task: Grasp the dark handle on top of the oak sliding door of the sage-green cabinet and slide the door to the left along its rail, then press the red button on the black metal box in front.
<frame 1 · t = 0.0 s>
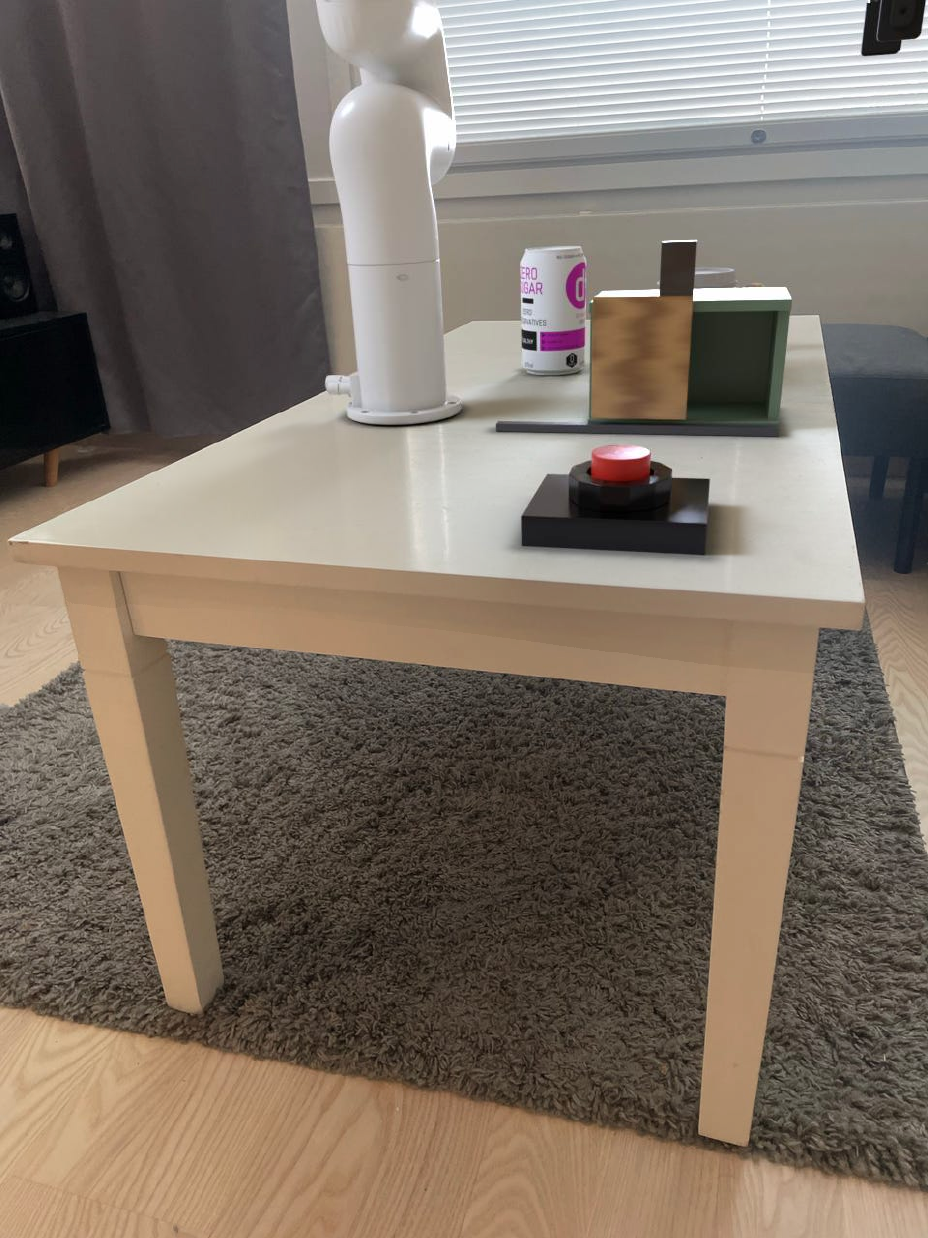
hand: (888, 47, 76), 31 cm above the table, tool pointing down, fingers open, 9 cm apart
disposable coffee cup: (691, 373, 115), on the table
sliding door: (641, 333, 84), point 9 cm above the table, slide at 0.0 cm
lion figurine: (724, 349, 131), on the table
cabinet: (682, 419, 92), on the table
button box: (618, 526, 64), on the table
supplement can: (553, 371, 120), on the table
button: (620, 464, 62), point 4 cm above the table, slide at 0.1 cm
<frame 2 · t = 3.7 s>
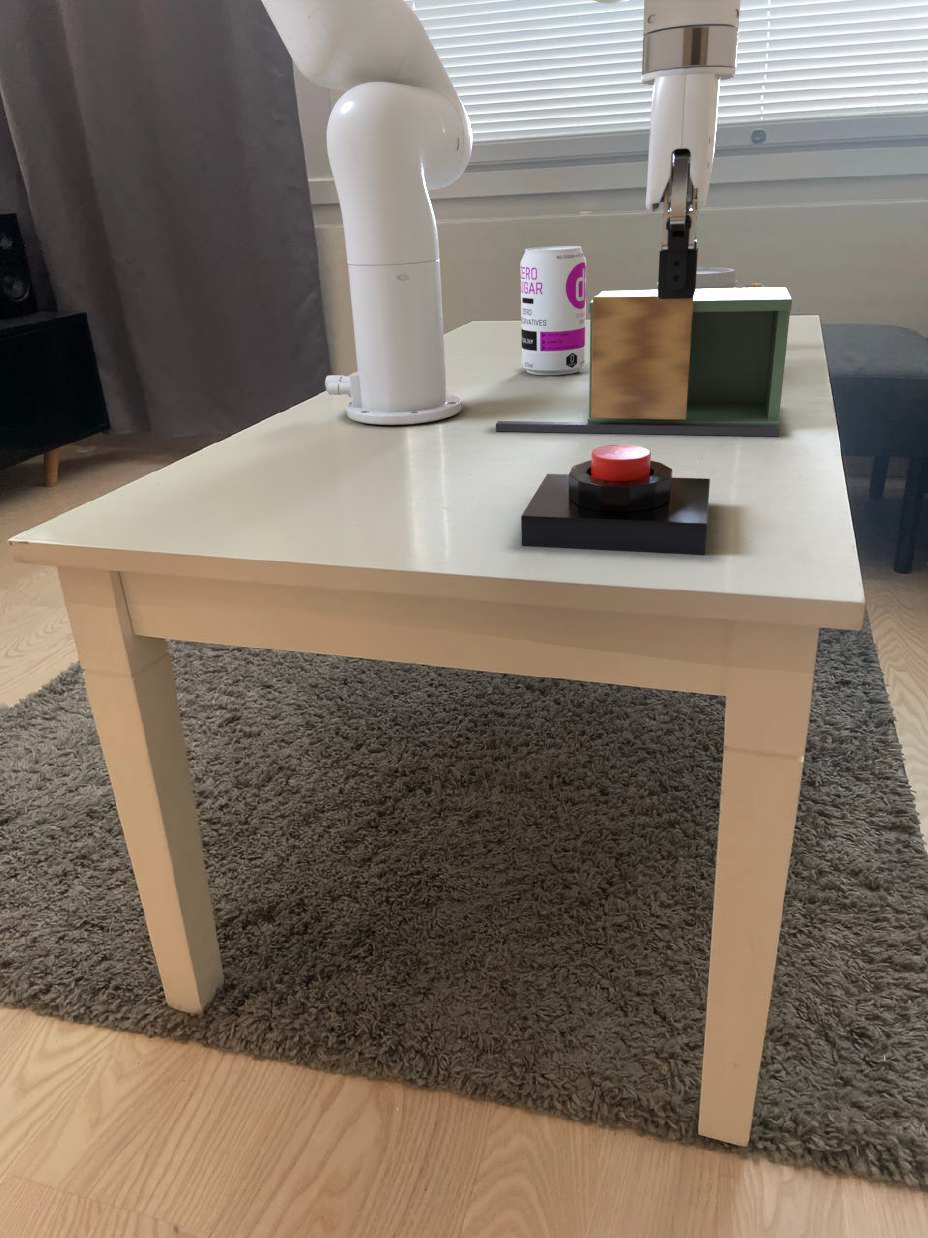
hand: (676, 295, 82), 13 cm above the table, tool pointing down, fingers closed
sliding door: (641, 333, 84), point 9 cm above the table, slide at 0.0 cm, touching gripper
everything else where it was.
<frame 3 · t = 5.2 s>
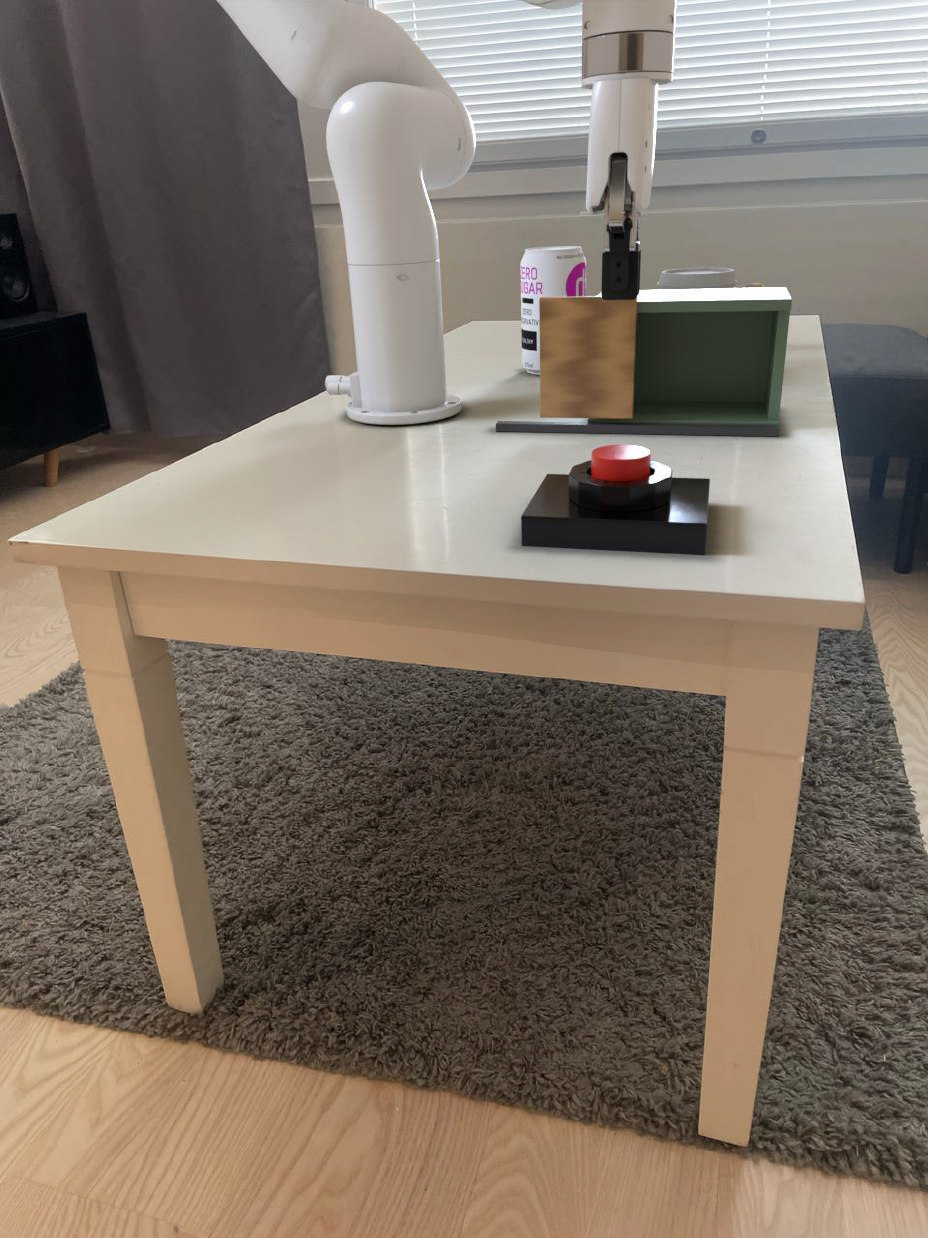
hand: (620, 296, 83), 13 cm above the table, tool pointing down, fingers closed
sliding door: (587, 333, 86), point 9 cm above the table, slide at 5.0 cm, touching gripper
everything else where it was.
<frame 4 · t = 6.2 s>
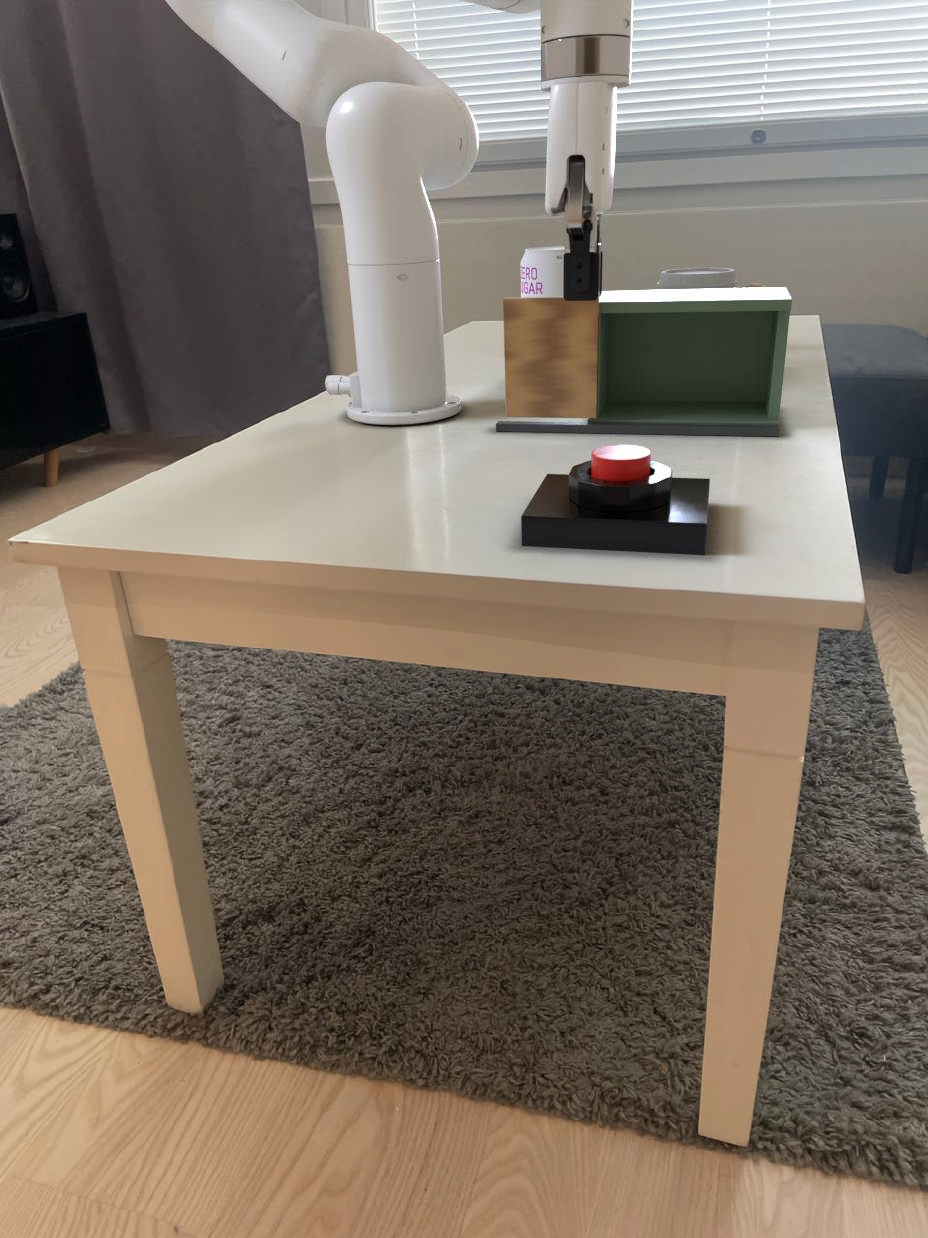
hand: (582, 297, 84), 13 cm above the table, tool pointing down, fingers closed
sliding door: (550, 334, 86), point 9 cm above the table, slide at 8.5 cm
everything else where it was.
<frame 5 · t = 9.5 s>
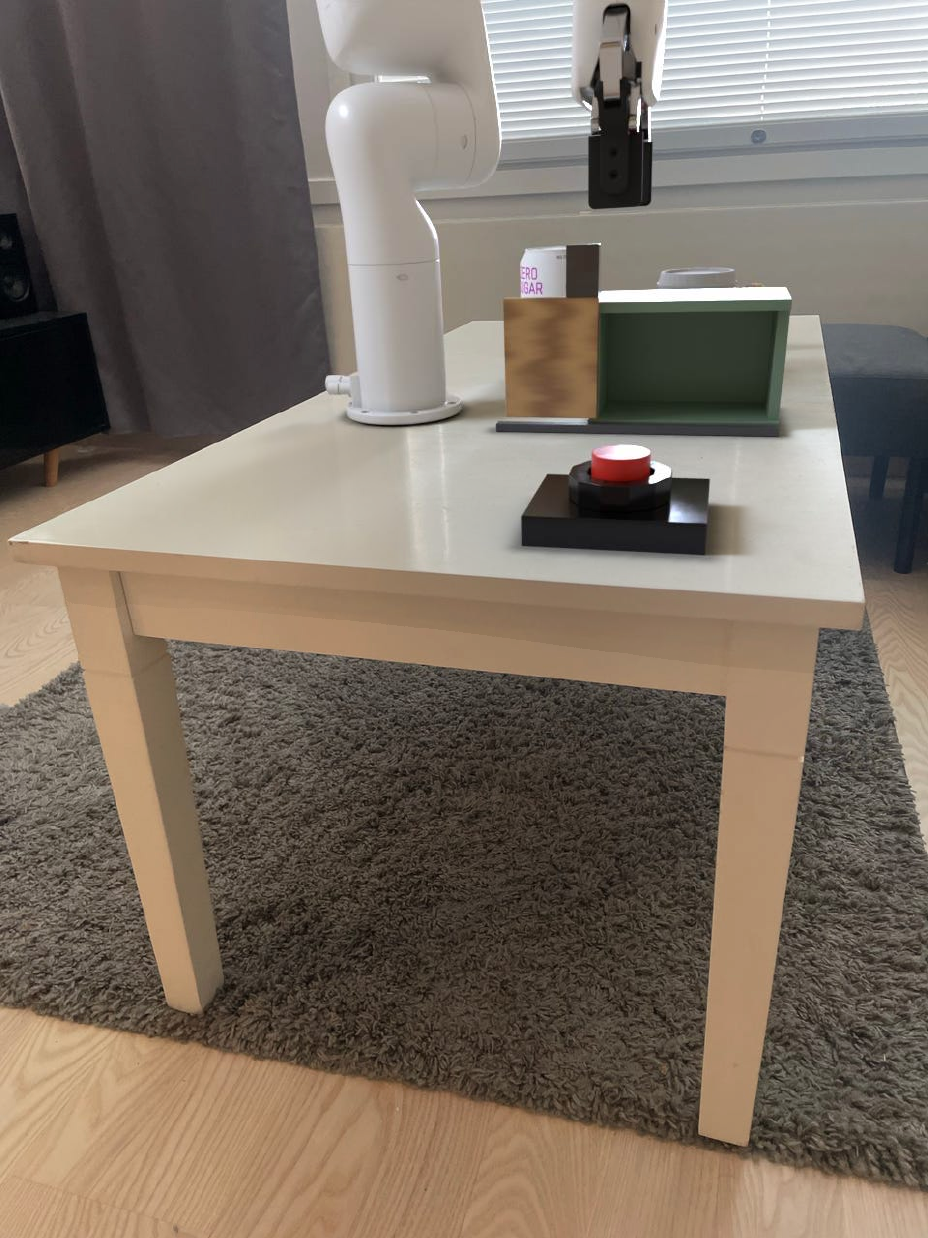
hand: (621, 207, 60), 20 cm above the table, tool pointing down, fingers open, 9 cm apart
nothing on the table moved.
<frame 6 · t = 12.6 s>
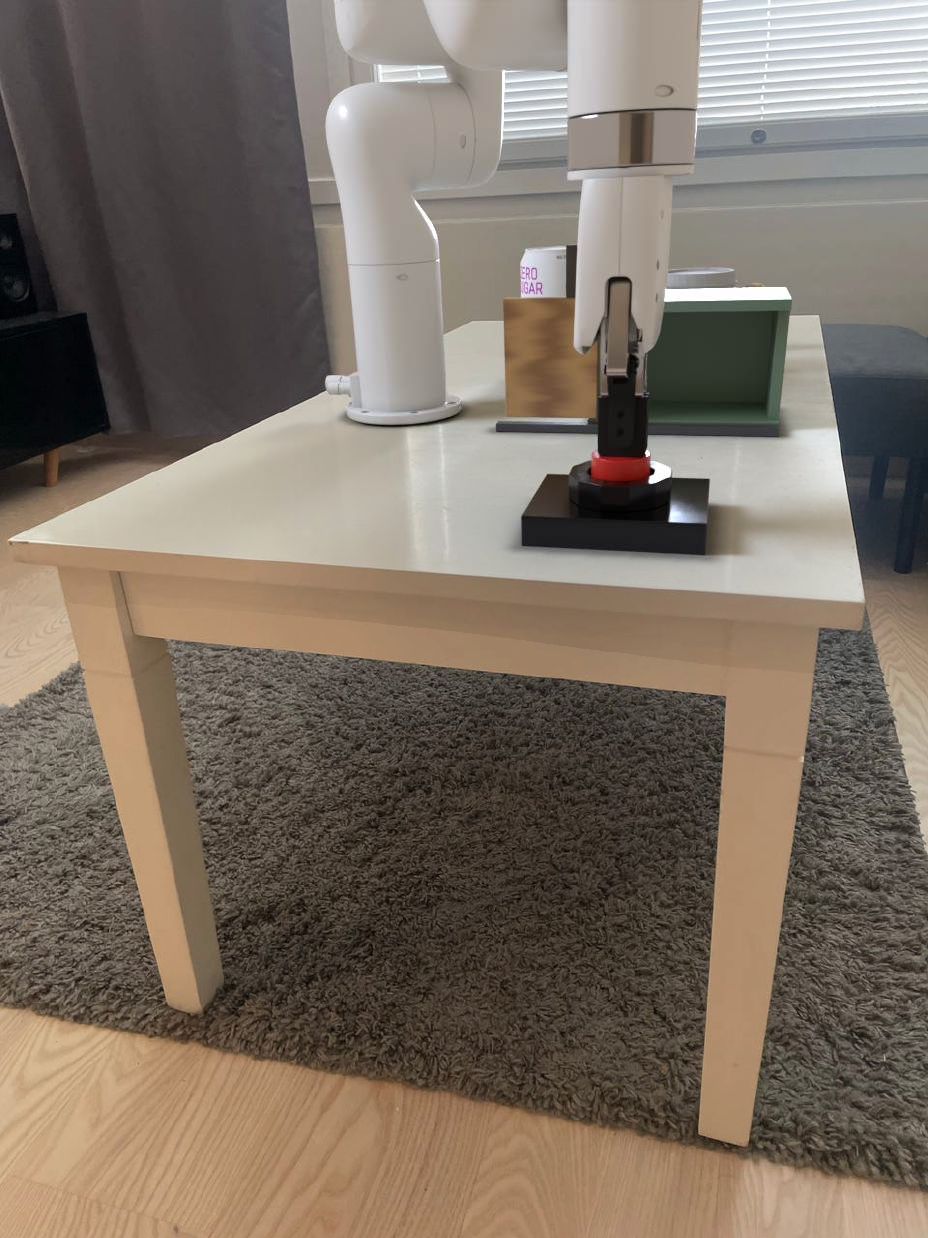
hand: (622, 453, 62), 5 cm above the table, tool pointing down, fingers closed
button: (620, 465, 62), point 4 cm above the table, slide at 0.0 cm, touching gripper
everything else where it was.
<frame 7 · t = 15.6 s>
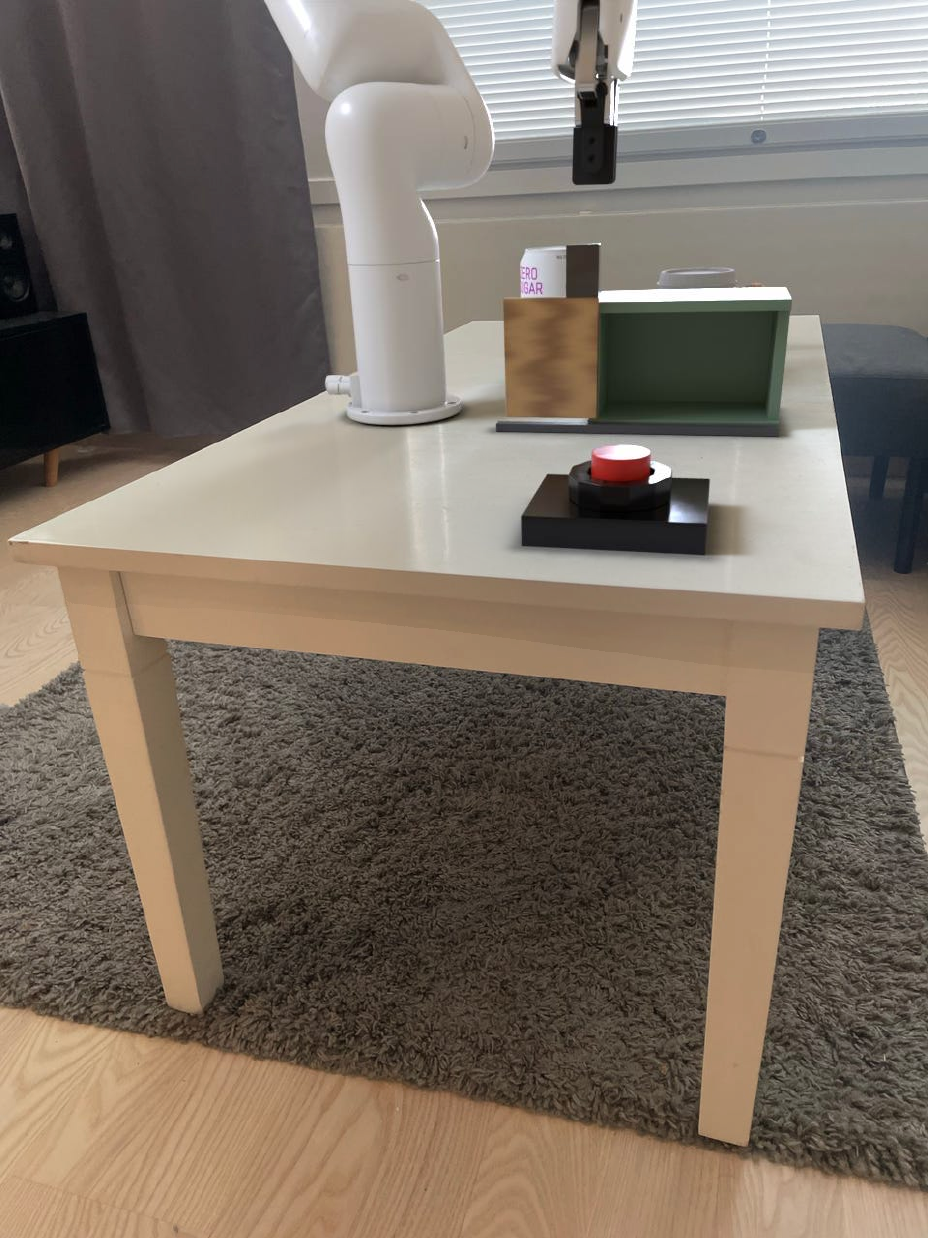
hand: (593, 183, 72), 22 cm above the table, tool pointing down, fingers closed
button: (620, 464, 62), point 4 cm above the table, slide at 0.1 cm
everything else where it was.
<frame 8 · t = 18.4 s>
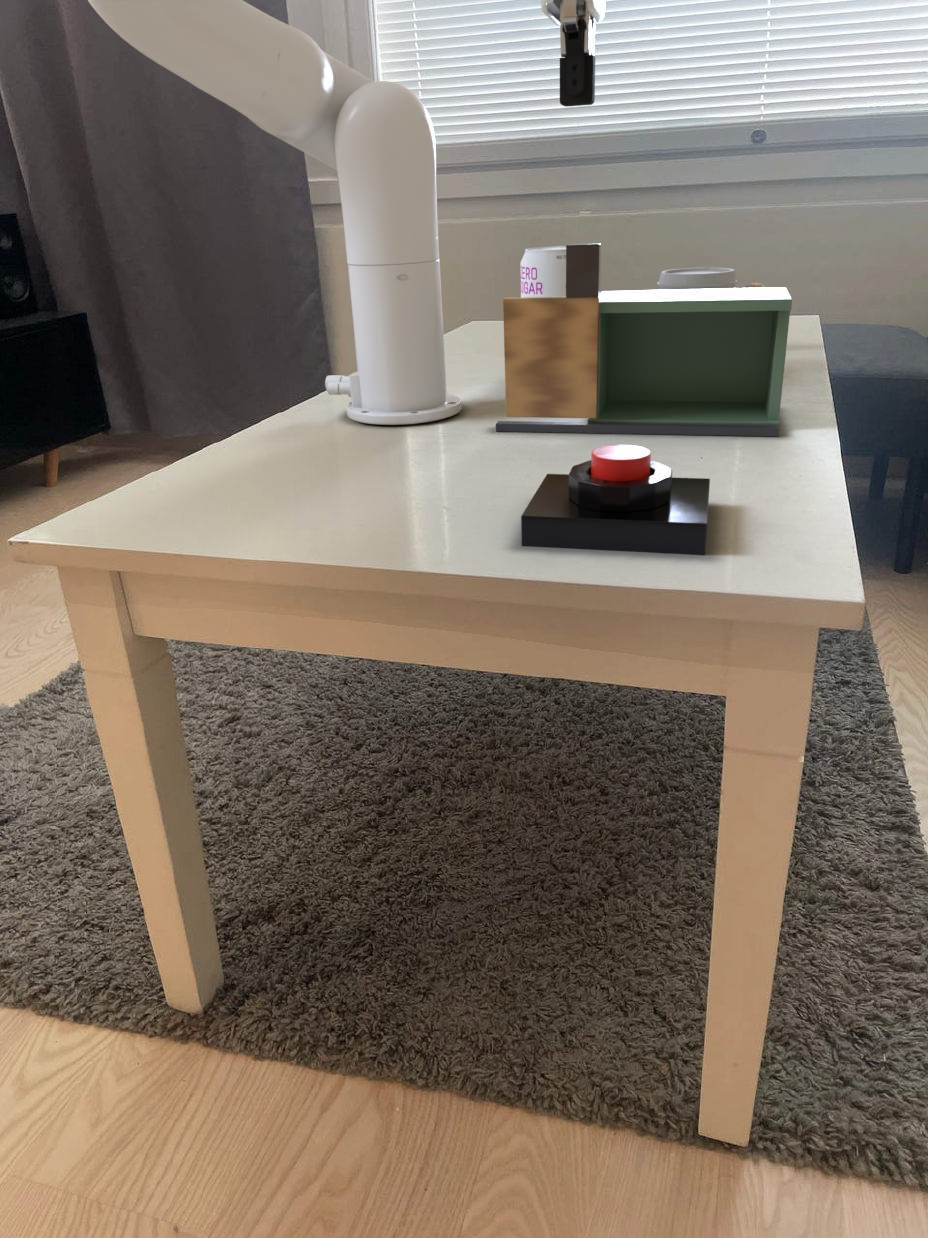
hand: (577, 104, 89), 29 cm above the table, tool pointing down, fingers closed
nothing on the table moved.
at the end: sliding door slide at 8.5 cm; button pushed in 1.1 cm at the most during the clip, back to where it started at the end; button slide at 0.1 cm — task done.
